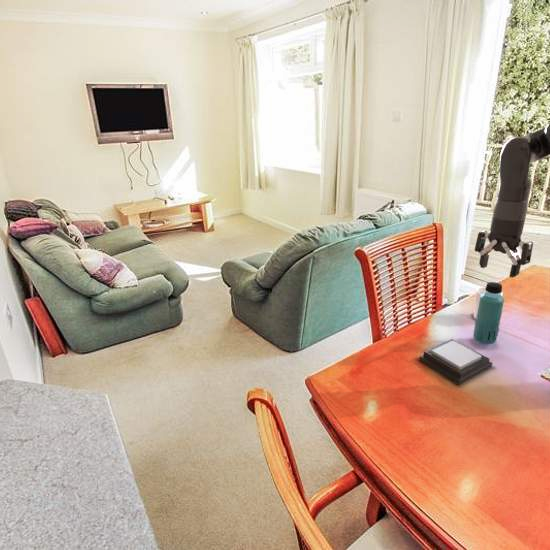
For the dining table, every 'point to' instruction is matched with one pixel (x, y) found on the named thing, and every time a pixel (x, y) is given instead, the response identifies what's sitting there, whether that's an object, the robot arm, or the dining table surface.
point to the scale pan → (456, 354)
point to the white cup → (477, 299)
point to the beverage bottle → (489, 314)
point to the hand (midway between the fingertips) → (497, 271)
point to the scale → (452, 371)
